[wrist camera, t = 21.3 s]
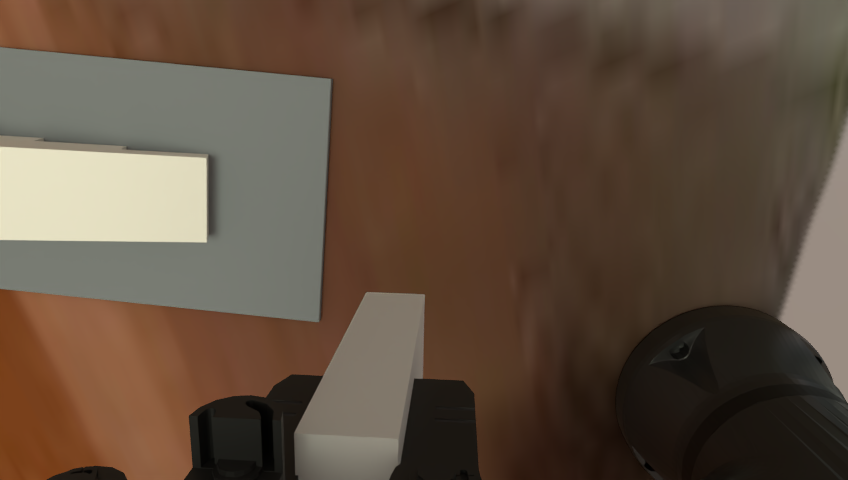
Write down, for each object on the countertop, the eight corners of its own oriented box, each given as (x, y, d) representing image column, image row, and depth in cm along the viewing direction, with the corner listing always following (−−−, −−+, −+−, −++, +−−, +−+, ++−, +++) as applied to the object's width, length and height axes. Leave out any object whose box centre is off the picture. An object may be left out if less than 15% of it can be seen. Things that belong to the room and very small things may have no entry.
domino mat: (320, 319, 44) (318, 322, 43) (-156, 269, 45) (-164, 271, 44) (332, 79, 39) (330, 79, 39) (-197, 28, 40) (-207, 27, 40)
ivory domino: (206, 242, 40) (-11, 239, 36) (208, 235, 42) (2, 231, 38) (206, 157, 39) (-20, 145, 35) (208, 154, 40) (-7, 142, 36)
